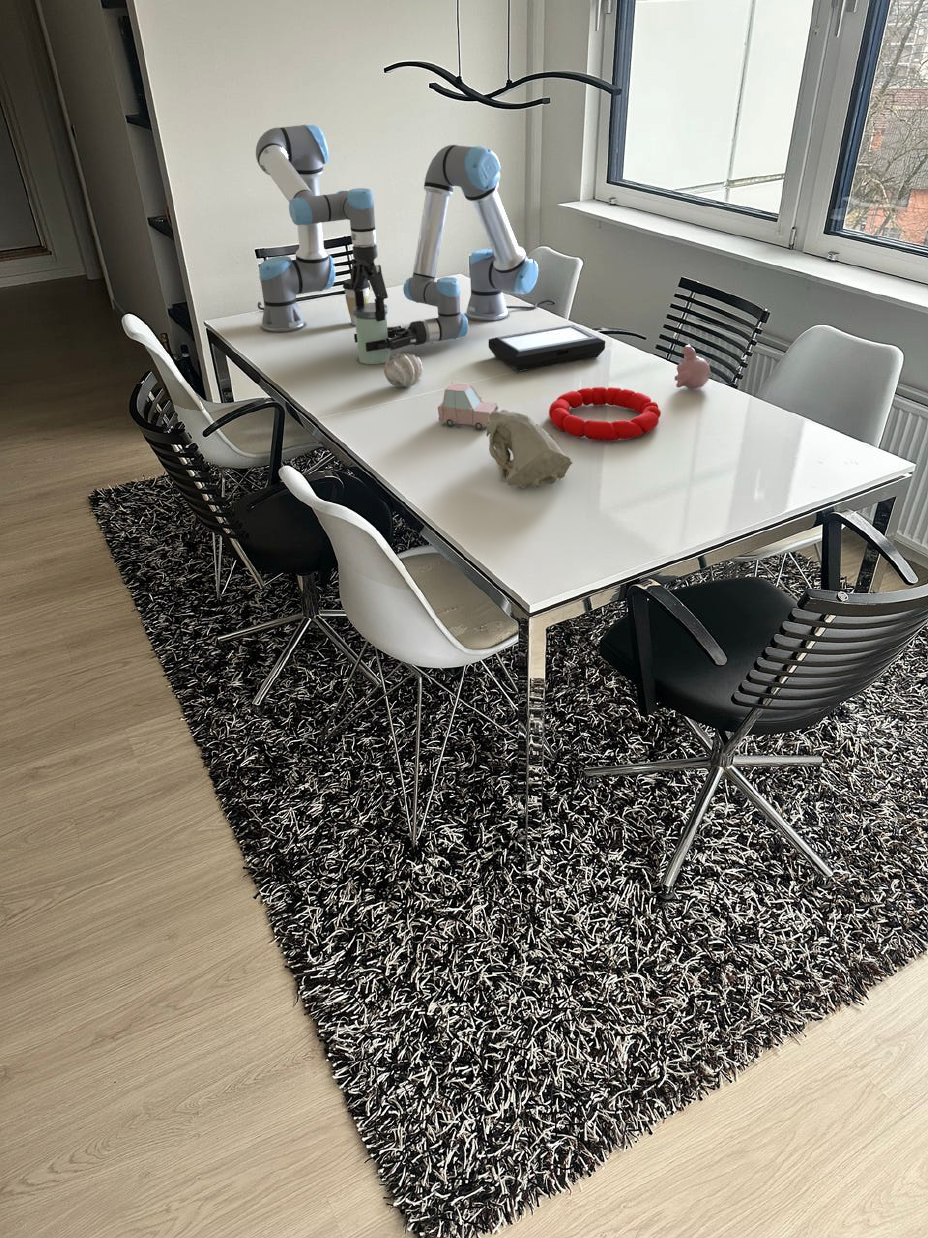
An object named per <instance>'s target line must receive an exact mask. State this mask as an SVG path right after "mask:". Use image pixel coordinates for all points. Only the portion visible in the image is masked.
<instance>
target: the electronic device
mask: <svg viewBox="0 0 928 1238" xmlns="http://www.w3.org/2000/svg"><path fill="white" fill-rule="evenodd" d="M488 349H489V350H490V351H491V353H492V354H493V355H494V357H495V358H497V359H498V360H500V361H502V362H503V363H505V364H506V365H507V366H509V367H512V368H513V369H514V370H515V371H517V372H521V371H528V370H533V369H539V368H544V367H551V366H555V365H561V364H567V363H573V362H578V361H583V360H588V359H589V360H590V359H594V358H598V357H600V355H601V354H602V353H603V352H604V351H605V350H606V340H604V339H603V338H600V337H598V336H596V335H594V334H592V333H590V332H588V331H586V330H585V329H582V328H581V327H579V326H577V325H575V324H568V325H563V326H562V325H561V326H555V327H550V328H545V329H538V330H533V331H525V332H520V333H515V334H514V333H513V334H508V335H503V336H497V337H492V338H489V339H488Z"/></svg>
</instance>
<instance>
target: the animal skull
mask: <svg viewBox="0 0 928 1238" xmlns="http://www.w3.org/2000/svg"><path fill="white" fill-rule="evenodd" d="M485 436H486V438H487V437H489V438H488V440H489V444H488V445H489V446H488V450H489V454H490V456H491V457H492V458H493V459H494V460H495V462H496V464H497V466H499V468H500V470H501V471H502V472H501V478H502V479H507V480H506V484H507V486H517V487H518V486H519V488H523V489H524V488H526V486H527V485H529V483H531V485H533V486H534V487H536V488H540V485H541V484H542V482H544V483H549V484H550V485H553V484H555V483H556V482H557V480H561V479H563V478H565V476H566V474H567V472H568V471H569V469H570V467H571V466H572V464H573V462H572V461H571V458H570V457H568V456H567V455H565V453H564V451H562V449H561V448H560V446H559V444H557V443H556V439H555V438H554V436H553V435H551V434H550V433H548V432H547V431H546V430H545V429H544V428H542V427H541V426H539V425H538V424H537V423H536V424H535V422H534V421H533V419H532V418H531V417H530V416H529V415H527V414H524V413H519V412H515V411H509V410H507V409H502V410H500V411H499V410H497V411H496V412H492V413H491V414H490V422H488V423H487V427H486V435H485ZM511 453H512V454H511ZM511 455H512V457H513V458H512V460H511ZM507 474H508V475H507Z"/></svg>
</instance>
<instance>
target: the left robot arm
mask: <svg viewBox="0 0 928 1238" xmlns="http://www.w3.org/2000/svg"><path fill="white" fill-rule="evenodd" d="M329 154H330V153H329V147H328V144H327V140H326V137H325V135H324V133H323V131H322V130H321V128H320V127H319V126H317V125H315V124H312V125H311V124H301V125H292V126H290V125H289V126H282V127H272V128H270V129H267V130H266V131H265V132H263V133H262V134H261V136H260V137H259V139H258V141H257V142H256V146H255V158H256V162H257V164H258V166H259V167H260V169H261V171H262V172H263V173H264V174H266V175H268V176H270V178H271V179H272V180H273V182H274V183H275V184H276V186H277V187H278V190H280V192H281V193H282V195H283V196H284V197H285V198H286V200H287V202H288V211H289V217H290V218H291V222H292V223H293V224H294V225H295V226H297V236H298V249H297V250H296V251H295V259H292V258H291V257H290V256H288V255H281V256H275V257H271V258H268V259H265V260H263V261H262V262H261V263H260V265H259V266H258V270H259V271H258V273H259V280H260V287H261V292H262V299H263V307H261V306H262V302H261V301H259V302H258V303H257V308H258V310H260V311H263V313H262V319H261V326H262V330H264V331H265V332H271V333H286V332H293V331H296V330H297V331H298V330H300V329H302V328H304V326H305V319H304V317H303V314H302V312H301V310H300V307H299V306H298V305H299V304H298V303H297V295H303V294H310V293H316V292H323V291H327V290H330V289H331V288H332V287H333V286H334V283H335V280H336V266H335V261H334V259H333V257H332V256H331V255H329V251H328V250H327V249H326V248H325V247H324V232H323V231H324V230H323V224H324V223H330V222H337V221H347V220H348V221H349V225H350V226H349V227H350V234H351V235H350V238H351V243H352V247H351V248H352V259H351V272H350V278H351V280H350V288H353V291H355V302H356V305H359V304H363V303H364V296H363V291H360V290H363V288H362V286H363V282H364V279H367V280H368V282H369V283H370V287H371V289H372V291H373V295H374V297H375V298H374V303H375V308H376V320H377V322H379V321H383V320H385V312H384V304H385V299H388V297H389V296H388V292H387V288H386V284H385V281H384V277H383V276H384V275H383V273H382V266H381V265H380V264H376V262H375V259H377V258H378V246H377V232H376V231H377V229H376V218H375V202H374V196H373V195H374V194H373V191H372V190H371V189H370V188H365V187H357V188H351V189H349V190H339V191H337V192H336V193H329V194H321V189H320V187H321V185H320V176H321V174H322V173H323V172H324V165H326V164H327V163H328V162H329ZM353 283H354V284H353Z"/></svg>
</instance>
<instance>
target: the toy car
mask: <svg viewBox="0 0 928 1238" xmlns="http://www.w3.org/2000/svg"><path fill="white" fill-rule="evenodd" d="M498 409H499V404H498V403H497V402H490V401H489V402H487V401H483V397H481V396H480V395H479V394H478V393H477V391H476V390H475V389H474V386H472V384H469V383H459V382H451V383H450V384H449V385H448V386H447V387H446V388H445V389H444V394H443V399H442V403H440V404H439V405H438V406H437V413H438V421H439V422H443V423H446V425H447V426H448V427H452V426H454V425H455V424H461V425H469V426H473V427H475V429H476V430H479V431H480V430H481V429H483V428H485V427H486V428H487V423H488V422H490V414H491V413H492V412H496V411H499V410H498Z"/></svg>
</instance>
